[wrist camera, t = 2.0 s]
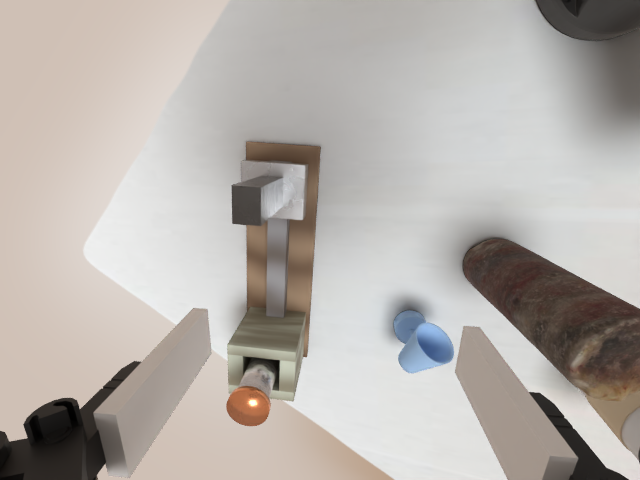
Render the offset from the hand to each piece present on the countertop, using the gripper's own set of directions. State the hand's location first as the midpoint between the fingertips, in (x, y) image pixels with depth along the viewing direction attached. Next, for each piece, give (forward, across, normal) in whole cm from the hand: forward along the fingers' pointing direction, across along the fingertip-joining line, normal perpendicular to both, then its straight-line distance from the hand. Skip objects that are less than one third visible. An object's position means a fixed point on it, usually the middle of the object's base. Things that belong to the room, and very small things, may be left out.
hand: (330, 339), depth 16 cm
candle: (+26, +20, -4) cm, 33 cm away
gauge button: (+18, -8, -16) cm, 26 cm away
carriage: (+22, -8, +5) cm, 24 cm away
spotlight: (+26, +11, -14) cm, 31 cm away
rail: (+25, -8, -5) cm, 27 cm away
